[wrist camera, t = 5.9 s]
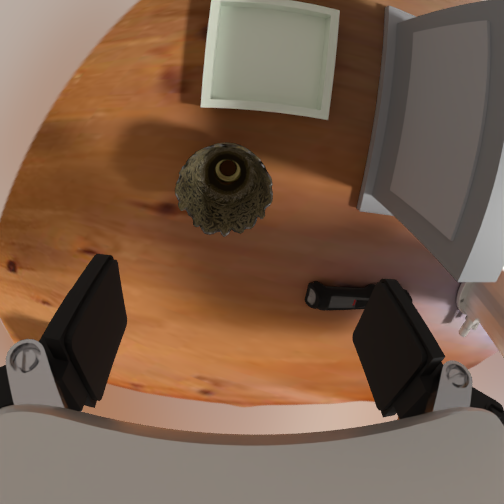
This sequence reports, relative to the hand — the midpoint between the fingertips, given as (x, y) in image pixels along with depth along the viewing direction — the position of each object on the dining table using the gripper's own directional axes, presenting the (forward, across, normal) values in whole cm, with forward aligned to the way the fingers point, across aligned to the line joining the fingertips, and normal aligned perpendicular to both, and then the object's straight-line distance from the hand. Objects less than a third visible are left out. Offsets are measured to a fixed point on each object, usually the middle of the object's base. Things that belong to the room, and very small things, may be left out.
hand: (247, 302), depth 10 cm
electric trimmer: (+21, -18, +15) cm, 31 cm away
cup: (+21, +1, +1) cm, 21 cm away
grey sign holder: (+21, -16, -9) cm, 28 cm away
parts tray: (+21, -1, -11) cm, 24 cm away
